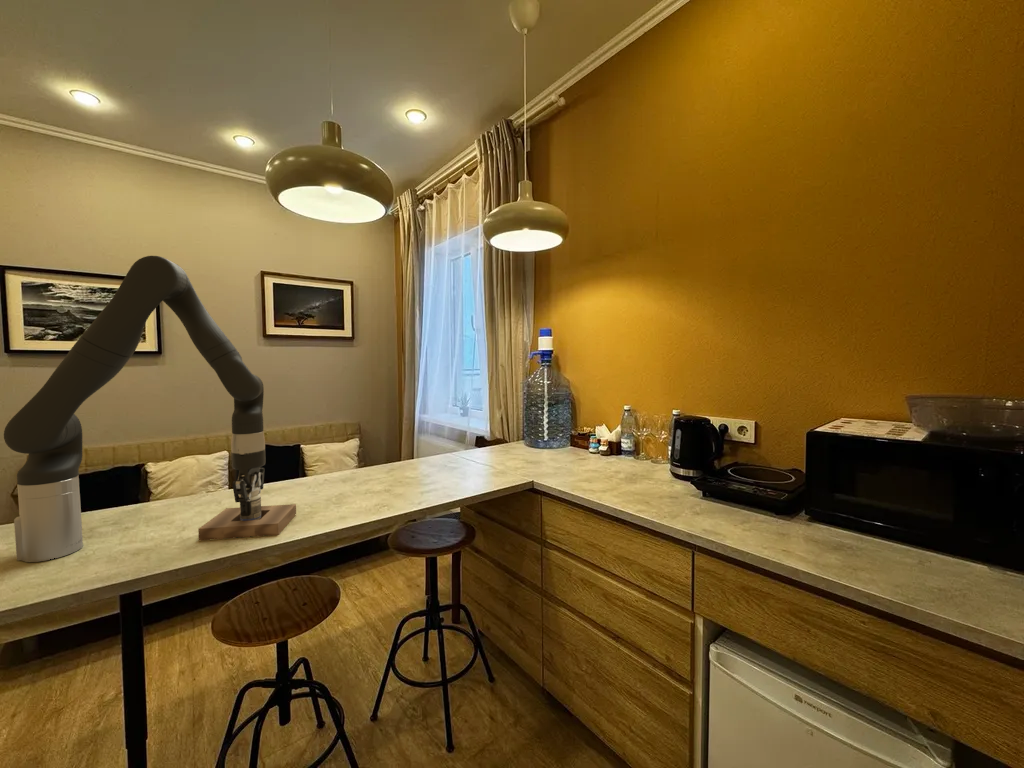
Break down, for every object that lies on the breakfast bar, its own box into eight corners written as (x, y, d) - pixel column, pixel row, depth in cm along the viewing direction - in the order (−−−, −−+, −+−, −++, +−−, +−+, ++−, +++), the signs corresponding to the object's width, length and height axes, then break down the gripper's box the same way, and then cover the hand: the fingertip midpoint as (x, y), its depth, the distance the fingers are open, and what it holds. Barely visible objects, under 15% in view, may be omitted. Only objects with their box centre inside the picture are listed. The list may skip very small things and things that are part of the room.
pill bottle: (238, 519, 108) (237, 488, 108) (258, 514, 112) (258, 484, 111) (242, 524, 105) (241, 492, 104) (263, 519, 108) (262, 488, 108)
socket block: (198, 540, 100) (198, 528, 100) (226, 518, 113) (226, 508, 113) (278, 534, 103) (278, 523, 103) (296, 514, 117) (295, 504, 117)
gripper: (245, 443, 113) (246, 503, 114) (218, 455, 99) (221, 523, 100) (274, 443, 115) (275, 501, 116) (252, 454, 101) (254, 521, 102)
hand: (250, 511), depth 108 cm, fingers closed on pill bottle, 4 cm apart
